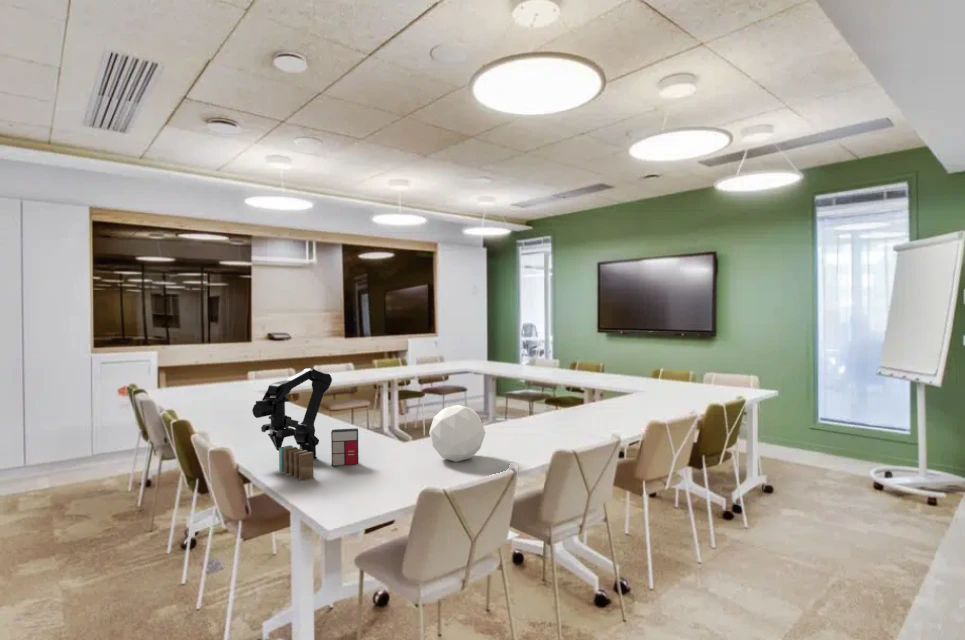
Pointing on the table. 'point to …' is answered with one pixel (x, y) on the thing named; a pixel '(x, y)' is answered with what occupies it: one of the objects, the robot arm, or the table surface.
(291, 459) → the domino
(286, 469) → the domino
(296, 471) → the domino
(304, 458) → the domino
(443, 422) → the geometric sculpture
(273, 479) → the table surface
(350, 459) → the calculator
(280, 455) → the domino
